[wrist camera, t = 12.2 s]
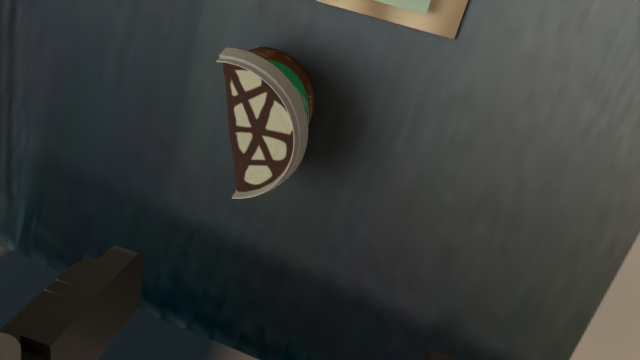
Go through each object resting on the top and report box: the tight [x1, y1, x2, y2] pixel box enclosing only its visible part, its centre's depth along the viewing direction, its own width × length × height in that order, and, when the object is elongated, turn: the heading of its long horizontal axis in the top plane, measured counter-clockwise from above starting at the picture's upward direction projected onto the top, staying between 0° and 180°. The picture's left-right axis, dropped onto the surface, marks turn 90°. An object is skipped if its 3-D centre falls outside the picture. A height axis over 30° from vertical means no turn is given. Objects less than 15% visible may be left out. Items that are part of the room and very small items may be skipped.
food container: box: [217, 47, 315, 199], centre depth 43 cm, size 12×6×10 cm, turn 2°
